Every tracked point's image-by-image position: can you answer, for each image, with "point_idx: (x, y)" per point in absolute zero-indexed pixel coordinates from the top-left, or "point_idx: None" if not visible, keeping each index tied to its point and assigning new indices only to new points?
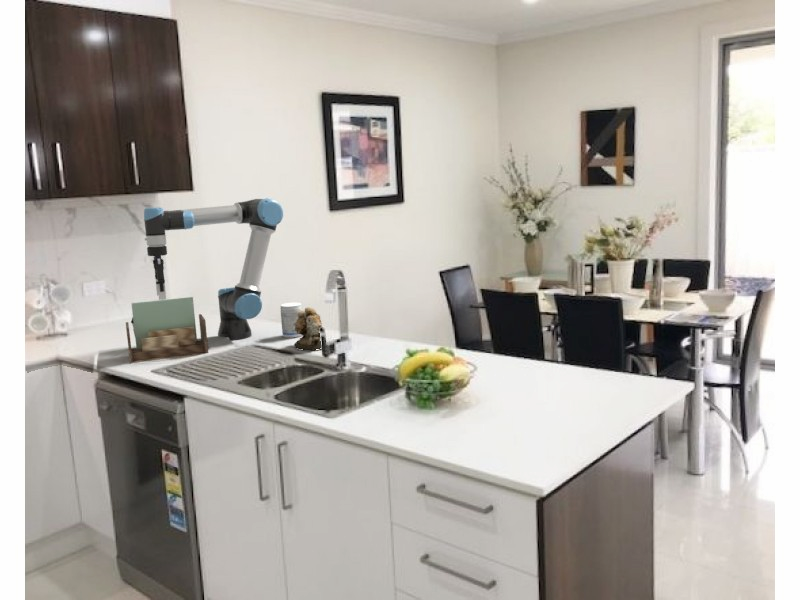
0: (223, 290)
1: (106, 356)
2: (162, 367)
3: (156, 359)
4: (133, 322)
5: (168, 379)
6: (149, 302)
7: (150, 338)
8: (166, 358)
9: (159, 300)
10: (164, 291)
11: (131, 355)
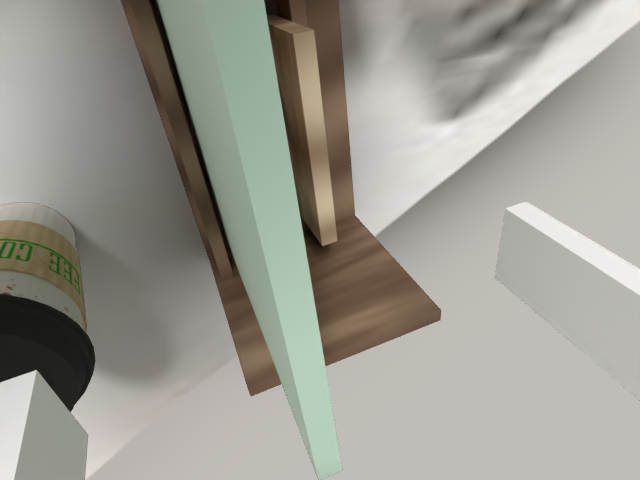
0: None
1: (124, 366)
2: (420, 82)
3: (342, 127)
4: (77, 399)
5: (594, 30)
6: (324, 373)
7: (332, 198)
8: (343, 79)
9: (298, 310)
10: (620, 273)
11: (369, 233)
